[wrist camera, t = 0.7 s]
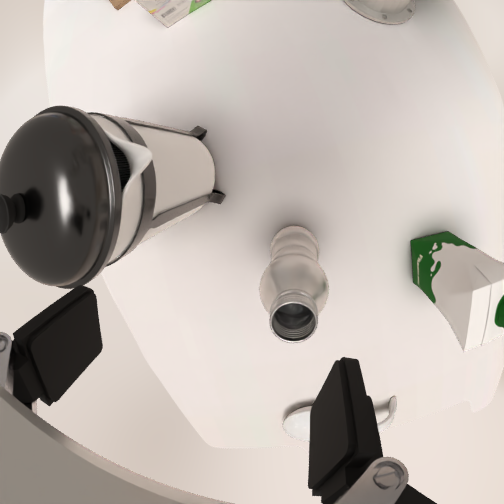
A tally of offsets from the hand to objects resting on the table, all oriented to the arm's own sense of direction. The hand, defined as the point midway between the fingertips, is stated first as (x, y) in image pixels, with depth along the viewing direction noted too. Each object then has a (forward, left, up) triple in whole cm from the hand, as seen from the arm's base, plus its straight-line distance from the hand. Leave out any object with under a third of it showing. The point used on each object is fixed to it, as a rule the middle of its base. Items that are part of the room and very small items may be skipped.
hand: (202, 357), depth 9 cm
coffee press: (+10, -11, -30) cm, 34 cm away
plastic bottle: (0, +6, -30) cm, 31 cm away
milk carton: (-18, +18, -30) cm, 40 cm away
